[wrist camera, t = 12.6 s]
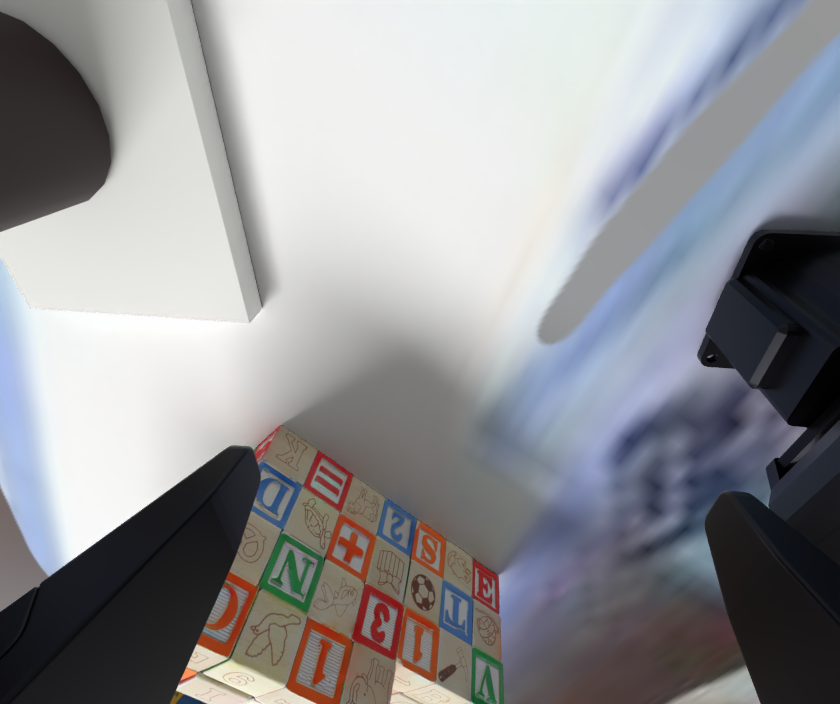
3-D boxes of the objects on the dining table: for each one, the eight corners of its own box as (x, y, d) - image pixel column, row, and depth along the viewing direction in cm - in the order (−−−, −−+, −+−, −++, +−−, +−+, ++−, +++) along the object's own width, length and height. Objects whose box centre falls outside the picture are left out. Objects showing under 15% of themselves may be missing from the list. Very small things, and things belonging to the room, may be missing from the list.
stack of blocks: (501, 573, 34) (509, 790, 24) (445, 595, 37) (431, 796, 27) (280, 421, 27) (160, 634, 17) (233, 463, 30) (109, 665, 20)
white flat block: (156, -145, 13) (122, -166, 12) (262, 308, 22) (248, 323, 21) (-173, -130, 15) (-237, -148, 13) (53, 295, 24) (28, 308, 22)
